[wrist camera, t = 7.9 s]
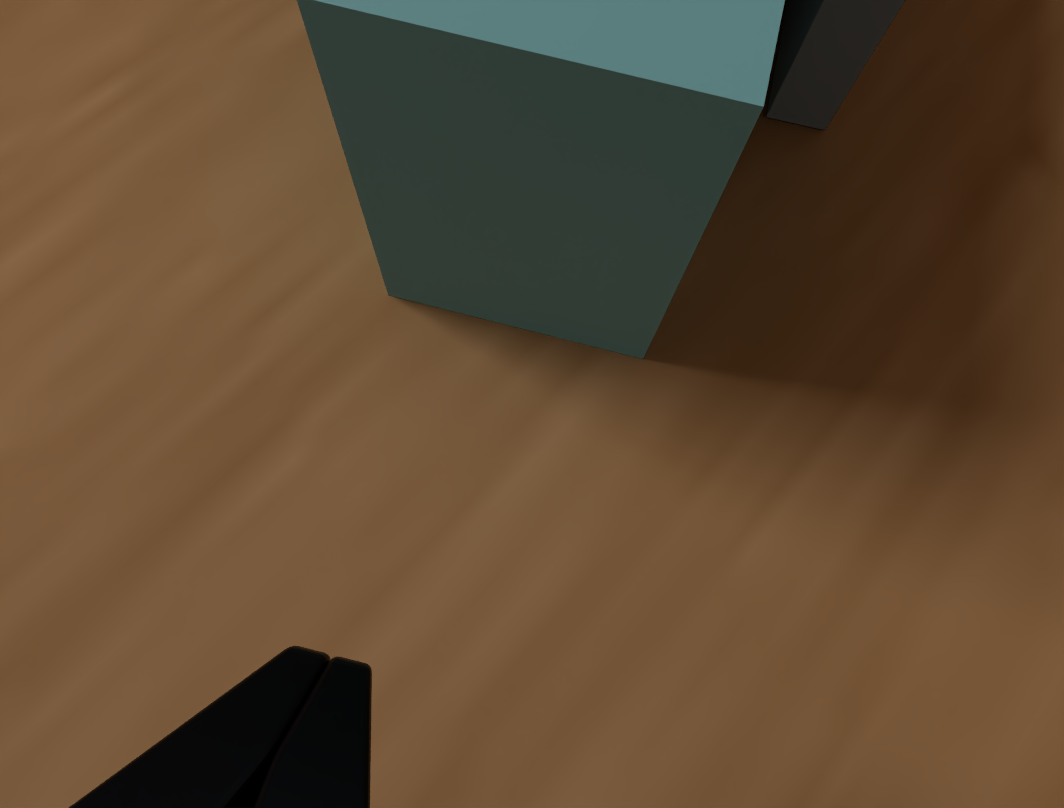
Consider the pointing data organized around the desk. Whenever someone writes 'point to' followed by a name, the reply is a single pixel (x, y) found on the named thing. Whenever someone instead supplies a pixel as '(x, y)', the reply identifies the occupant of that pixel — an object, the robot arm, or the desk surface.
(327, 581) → the desk surface
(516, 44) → the teal block
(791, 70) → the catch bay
